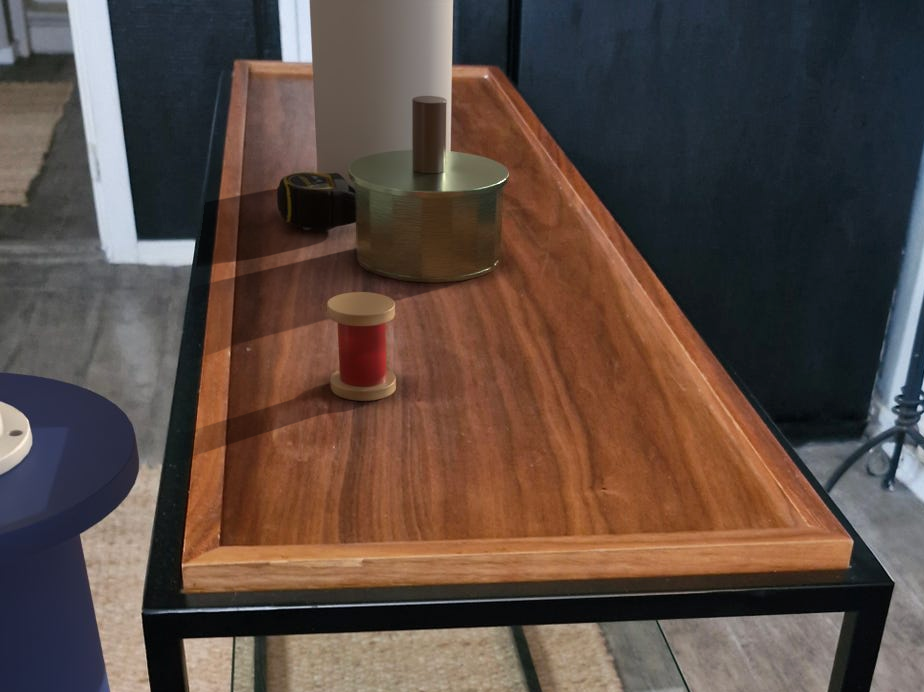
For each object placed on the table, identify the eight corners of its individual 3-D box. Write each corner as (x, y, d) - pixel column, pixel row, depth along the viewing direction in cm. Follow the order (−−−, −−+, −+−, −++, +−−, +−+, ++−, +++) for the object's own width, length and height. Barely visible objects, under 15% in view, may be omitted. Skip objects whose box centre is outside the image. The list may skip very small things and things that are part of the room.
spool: (332, 402, 77) (328, 315, 74) (329, 376, 81) (325, 292, 77) (398, 400, 78) (397, 314, 74) (393, 374, 81) (392, 291, 78)
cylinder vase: (429, 169, 122) (432, -136, 107) (465, 204, 113) (474, -124, 98) (306, 174, 119) (290, -138, 104) (333, 211, 110) (320, -127, 95)
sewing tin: (362, 283, 95) (359, 197, 91) (353, 238, 104) (351, 157, 100) (509, 281, 96) (513, 196, 93) (488, 237, 105) (490, 157, 101)
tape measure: (366, 234, 105) (365, 188, 103) (288, 239, 103) (285, 192, 101) (347, 212, 110) (345, 167, 108) (271, 216, 108) (268, 171, 106)
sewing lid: (353, 207, 91) (351, 117, 87) (344, 163, 101) (342, 81, 97) (520, 206, 93) (524, 118, 89) (495, 163, 102) (498, 82, 99)
